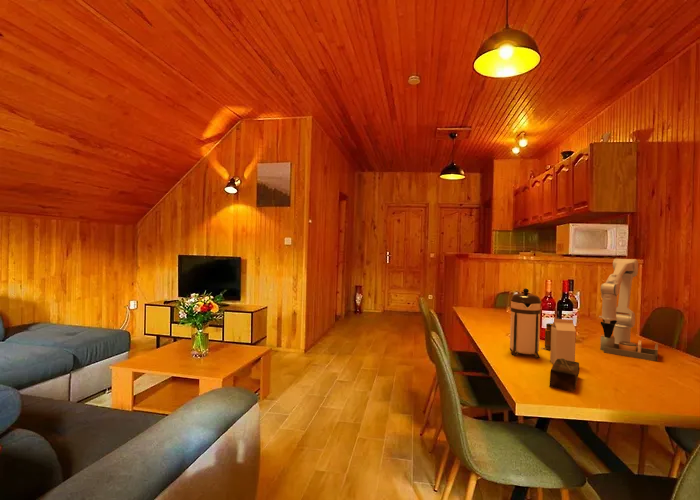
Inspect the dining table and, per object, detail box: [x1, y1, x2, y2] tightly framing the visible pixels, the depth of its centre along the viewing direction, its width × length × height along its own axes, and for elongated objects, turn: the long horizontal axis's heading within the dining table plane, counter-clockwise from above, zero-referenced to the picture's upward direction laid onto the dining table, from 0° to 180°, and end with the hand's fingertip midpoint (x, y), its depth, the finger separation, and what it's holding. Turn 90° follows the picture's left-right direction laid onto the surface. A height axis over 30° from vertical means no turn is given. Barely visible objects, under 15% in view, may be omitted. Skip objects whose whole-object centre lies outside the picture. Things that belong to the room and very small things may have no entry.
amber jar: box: [619, 341, 638, 352], centre depth 176 cm, size 7×7×5 cm
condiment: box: [541, 322, 553, 351], centre depth 180 cm, size 7×8×12 cm
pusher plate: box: [637, 339, 643, 353], centre depth 173 cm, size 10×1×6 cm, turn 140°
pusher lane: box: [603, 343, 659, 362], centre depth 175 cm, size 13×20×5 cm, turn 50°
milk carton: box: [549, 318, 577, 365], centre depth 156 cm, size 7×7×19 cm
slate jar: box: [600, 334, 615, 352], centre depth 181 cm, size 6×6×7 cm
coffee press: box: [509, 288, 542, 359], centre depth 172 cm, size 17×16×30 cm
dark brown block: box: [549, 358, 580, 393], centre depth 136 cm, size 8×19×7 cm, turn 145°
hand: (608, 336), depth 181 cm, fingers open, 7 cm apart
